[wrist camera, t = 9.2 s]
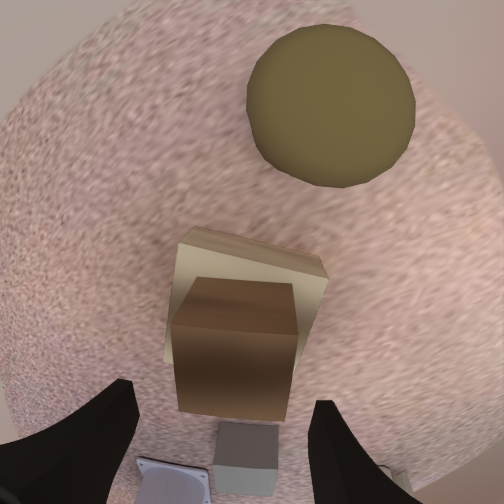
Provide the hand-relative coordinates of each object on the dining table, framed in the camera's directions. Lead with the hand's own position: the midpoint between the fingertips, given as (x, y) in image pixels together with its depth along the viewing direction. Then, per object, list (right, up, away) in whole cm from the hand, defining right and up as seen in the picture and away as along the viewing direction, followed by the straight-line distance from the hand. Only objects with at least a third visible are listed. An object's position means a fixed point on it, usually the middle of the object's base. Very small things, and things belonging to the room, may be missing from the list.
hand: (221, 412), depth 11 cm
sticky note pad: (+1, +3, +10) cm, 11 cm away
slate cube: (+1, -11, +15) cm, 18 cm away
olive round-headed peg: (+4, +14, +7) cm, 16 cm away
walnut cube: (+1, +2, +6) cm, 7 cm away
